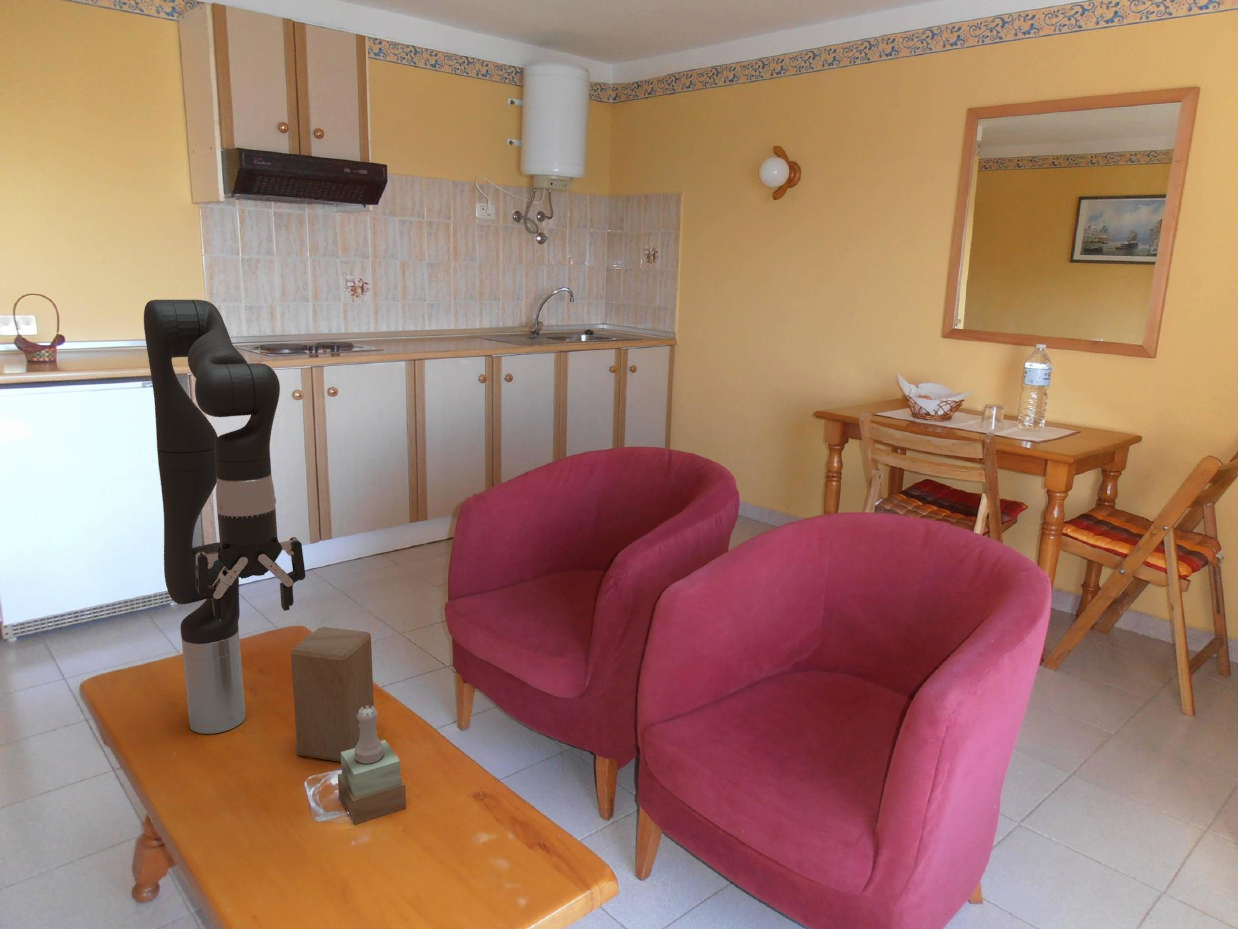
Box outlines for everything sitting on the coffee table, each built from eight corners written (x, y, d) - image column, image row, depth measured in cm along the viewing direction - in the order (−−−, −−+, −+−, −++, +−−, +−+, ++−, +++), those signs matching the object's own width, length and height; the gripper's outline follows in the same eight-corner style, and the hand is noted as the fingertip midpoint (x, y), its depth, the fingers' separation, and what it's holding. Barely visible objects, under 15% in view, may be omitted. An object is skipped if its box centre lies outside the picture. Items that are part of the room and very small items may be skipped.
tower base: (338, 797, 135) (336, 751, 133) (388, 781, 140) (387, 737, 138) (354, 825, 129) (352, 777, 127) (406, 807, 133) (404, 761, 131)
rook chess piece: (357, 749, 134) (355, 702, 132) (386, 748, 134) (385, 702, 133) (351, 765, 130) (348, 717, 128) (381, 765, 130) (379, 717, 128)
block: (349, 765, 144) (343, 655, 139) (294, 757, 146) (287, 648, 141) (377, 734, 153) (373, 630, 149) (326, 727, 155) (320, 624, 151)
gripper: (292, 494, 127) (299, 597, 131) (186, 506, 120) (196, 615, 123) (305, 506, 121) (312, 614, 125) (194, 520, 114) (204, 634, 117)
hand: (254, 614), depth 124 cm, fingers open, 8 cm apart
